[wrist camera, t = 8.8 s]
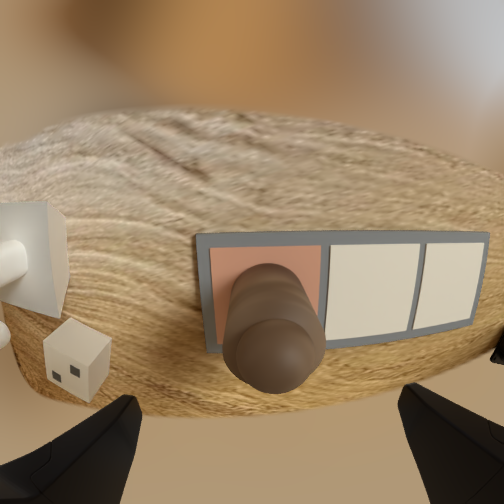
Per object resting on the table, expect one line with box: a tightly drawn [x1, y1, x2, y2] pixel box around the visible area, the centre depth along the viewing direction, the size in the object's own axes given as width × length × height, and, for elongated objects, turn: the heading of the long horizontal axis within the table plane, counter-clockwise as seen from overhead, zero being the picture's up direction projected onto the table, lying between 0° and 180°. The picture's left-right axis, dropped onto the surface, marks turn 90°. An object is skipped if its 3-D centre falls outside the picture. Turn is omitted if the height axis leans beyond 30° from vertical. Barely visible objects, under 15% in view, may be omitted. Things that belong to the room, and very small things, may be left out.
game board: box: [196, 230, 490, 353], centre depth 17 cm, size 22×8×1 cm, turn 91°
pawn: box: [222, 263, 326, 394], centre depth 13 cm, size 4×4×8 cm
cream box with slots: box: [43, 317, 112, 403], centre depth 16 cm, size 4×4×4 cm
